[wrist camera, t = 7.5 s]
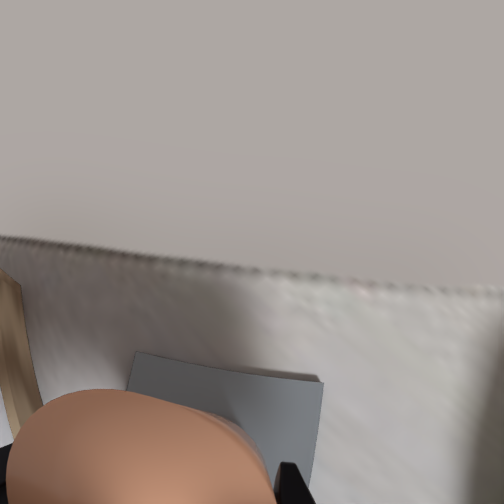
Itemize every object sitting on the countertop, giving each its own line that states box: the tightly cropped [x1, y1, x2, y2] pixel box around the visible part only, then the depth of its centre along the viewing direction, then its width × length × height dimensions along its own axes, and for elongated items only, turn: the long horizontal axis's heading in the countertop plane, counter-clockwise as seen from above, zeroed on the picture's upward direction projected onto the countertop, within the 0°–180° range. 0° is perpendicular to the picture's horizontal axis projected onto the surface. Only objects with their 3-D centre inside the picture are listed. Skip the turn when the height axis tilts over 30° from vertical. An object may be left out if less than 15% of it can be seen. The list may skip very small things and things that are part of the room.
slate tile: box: [127, 351, 324, 489], centre depth 13 cm, size 10×10×1 cm
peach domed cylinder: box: [6, 389, 277, 504], centre depth 8 cm, size 5×5×11 cm
